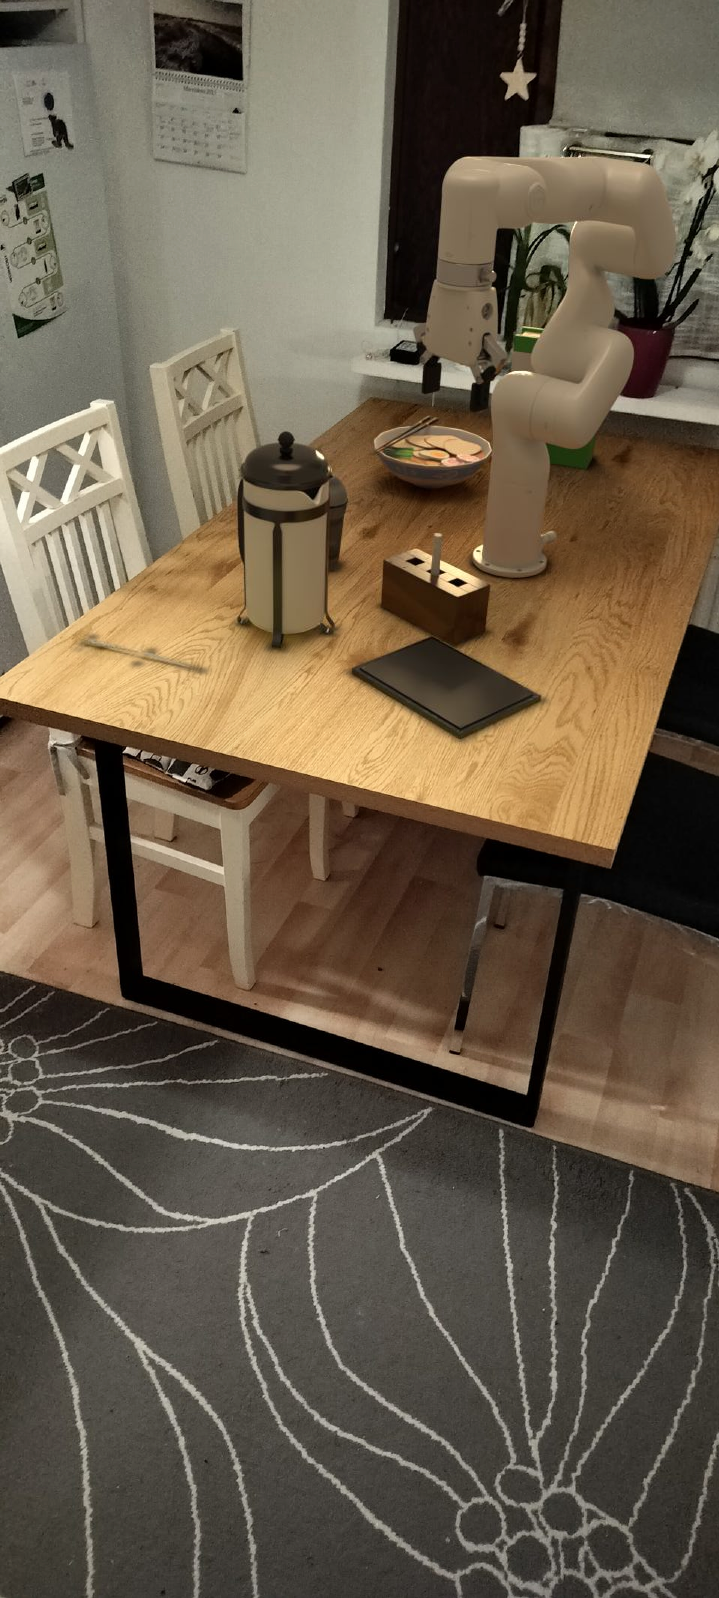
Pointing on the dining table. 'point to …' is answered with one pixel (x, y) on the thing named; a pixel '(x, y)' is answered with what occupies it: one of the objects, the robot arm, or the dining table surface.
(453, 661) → the tablet
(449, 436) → the ramen bowl
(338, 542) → the beverage cup
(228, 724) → the dining table surface
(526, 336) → the hardback book
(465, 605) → the pen block
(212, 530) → the dining table surface
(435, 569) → the rod
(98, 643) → the stylus
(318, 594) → the coffee press
